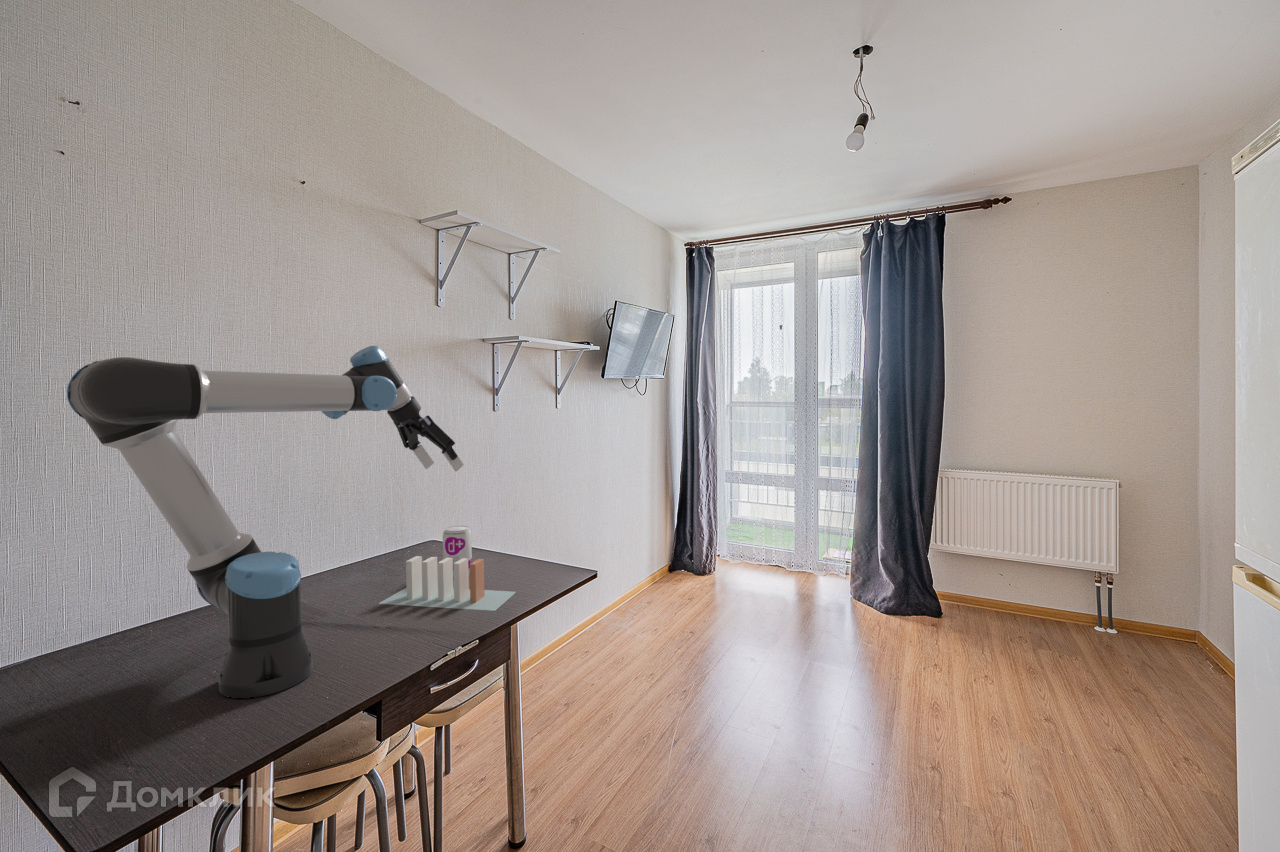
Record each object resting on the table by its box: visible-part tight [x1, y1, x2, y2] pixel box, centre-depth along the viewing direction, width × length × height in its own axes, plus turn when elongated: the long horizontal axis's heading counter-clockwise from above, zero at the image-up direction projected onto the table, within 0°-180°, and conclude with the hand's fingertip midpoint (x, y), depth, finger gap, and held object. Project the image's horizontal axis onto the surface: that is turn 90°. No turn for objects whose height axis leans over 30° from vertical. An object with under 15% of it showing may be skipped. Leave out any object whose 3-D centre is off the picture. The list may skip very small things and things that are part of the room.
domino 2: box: [422, 556, 438, 600], centre depth 150 cm, size 2×5×10 cm, turn 170°
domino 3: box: [437, 558, 454, 601], centre depth 149 cm, size 2×5×10 cm, turn 170°
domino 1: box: [405, 555, 423, 599], centre depth 150 cm, size 2×5×10 cm, turn 171°
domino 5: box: [469, 558, 485, 603], centre depth 147 cm, size 2×5×10 cm, turn 170°
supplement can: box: [442, 525, 473, 579], centre depth 170 cm, size 8×8×15 cm
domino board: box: [378, 587, 517, 612], centre depth 149 cm, size 14×32×1 cm, turn 80°
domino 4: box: [453, 558, 470, 602], centre depth 148 cm, size 2×5×10 cm, turn 171°
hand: (444, 467), depth 152 cm, fingers open, 13 cm apart
